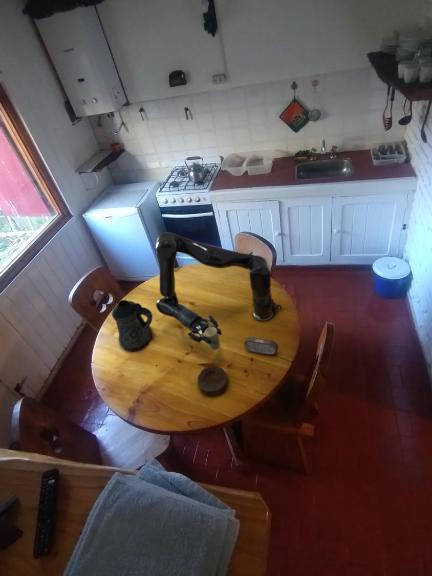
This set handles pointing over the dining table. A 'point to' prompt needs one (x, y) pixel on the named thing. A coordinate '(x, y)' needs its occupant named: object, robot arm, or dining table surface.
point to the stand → (212, 381)
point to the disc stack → (212, 338)
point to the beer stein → (132, 325)
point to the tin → (261, 345)
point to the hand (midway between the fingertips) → (215, 337)
